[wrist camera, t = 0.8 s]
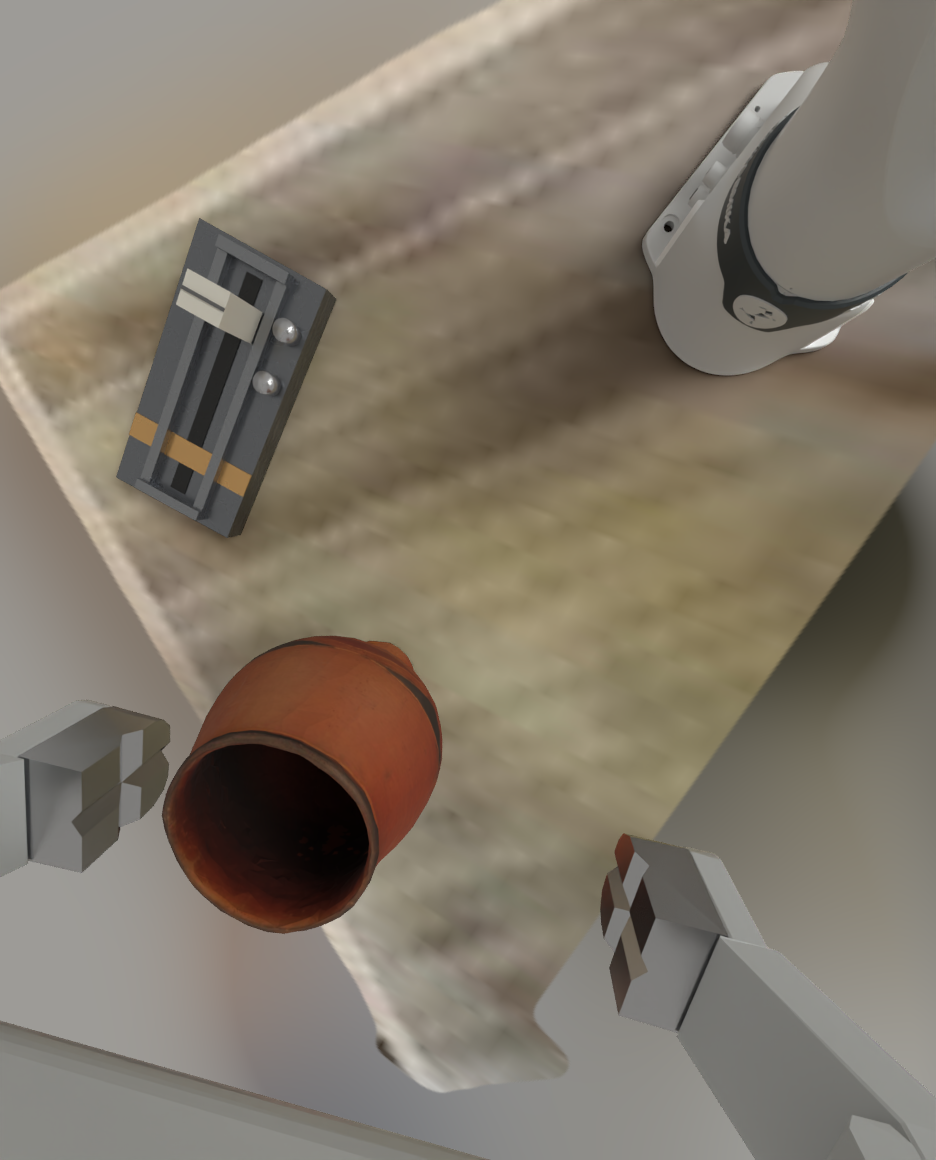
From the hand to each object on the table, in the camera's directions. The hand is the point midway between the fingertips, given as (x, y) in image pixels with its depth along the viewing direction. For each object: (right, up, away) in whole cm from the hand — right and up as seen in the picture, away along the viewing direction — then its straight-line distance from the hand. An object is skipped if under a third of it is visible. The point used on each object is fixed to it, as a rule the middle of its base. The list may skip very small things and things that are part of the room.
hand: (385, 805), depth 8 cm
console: (-23, +23, +40) cm, 52 cm away
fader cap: (-20, +28, +35) cm, 50 cm away
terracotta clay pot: (-9, -7, +45) cm, 47 cm away
